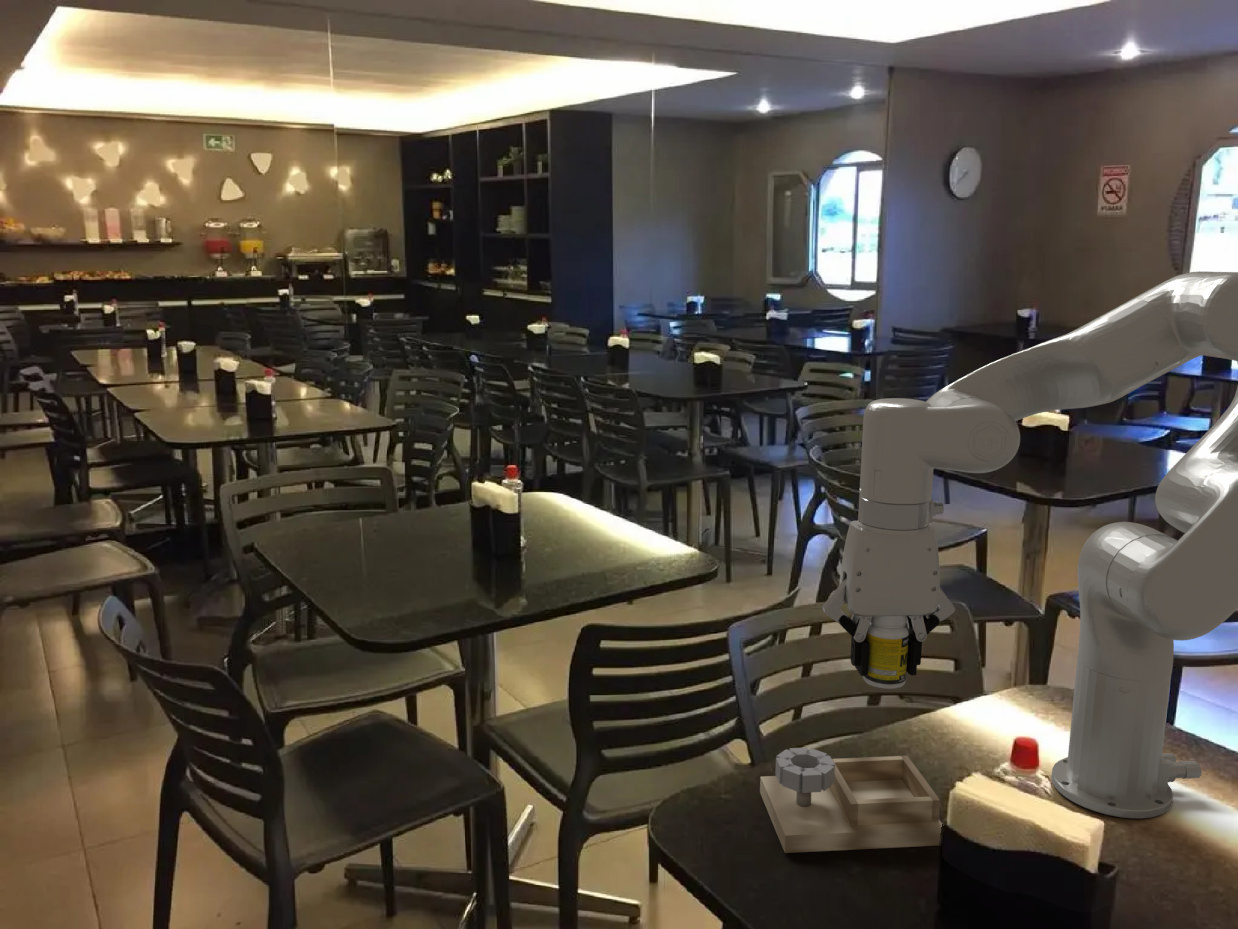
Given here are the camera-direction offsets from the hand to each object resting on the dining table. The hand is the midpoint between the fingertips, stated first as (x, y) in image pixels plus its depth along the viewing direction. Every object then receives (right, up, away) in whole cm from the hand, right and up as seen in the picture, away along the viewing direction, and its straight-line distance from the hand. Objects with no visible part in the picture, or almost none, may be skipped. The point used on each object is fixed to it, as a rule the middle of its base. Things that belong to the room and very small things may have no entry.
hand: (884, 669), depth 111 cm
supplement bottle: (0, -2, 0) cm, 2 cm away
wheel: (-10, -11, -3) cm, 15 cm away
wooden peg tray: (-4, -16, -2) cm, 17 cm away
